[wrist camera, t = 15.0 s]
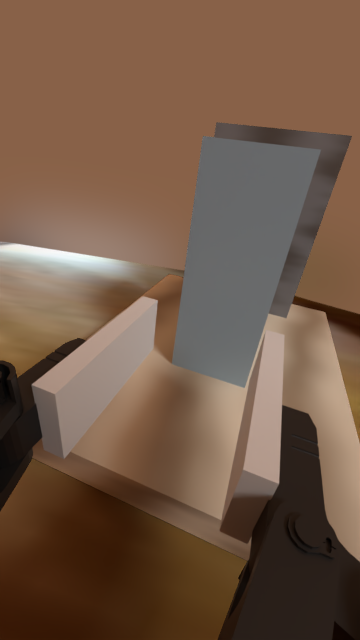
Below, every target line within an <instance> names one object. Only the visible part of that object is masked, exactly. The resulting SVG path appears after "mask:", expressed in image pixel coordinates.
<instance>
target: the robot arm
mask: <svg viewBox="0 0 360 640" xmlns="http://www.w3.org/2000/svg"><path fill="white" fill-rule="evenodd" d="M157 303H158V300H155V299H151V298H148V297H144V296H142V297H141V298H140V299H139V300H137V301H136V302H135V303H134V304H132V305H131V306H130V307H129V308H127V309H126V310H125V311H124V312H122V313H121V314H120V315H119V316H117V317H116V318H115V319H114V320H112V321H111V322H110V323H108V324H107V325H106V326H105V327H103V328H102V329H101V330H100V331H98V332H97V333H96V334H95V335H93V336H92V337H91V338H90V339H88V340H84V339H81V338H77V339H75V340H72V341H69V342H67V343H65V344H63V345H62V346H61V347H59V348H58V349H56V350H55V352H52V353H51V354H50V355H48V356H47V357H46V359H43V360H41V361H40V362H39V363H37V364H36V365H34V366H33V367H32V368H30V369H29V370H28V371H26V372H25V373H24V374H22V375H21V376H19V377H18V378H17V375H16V370H15V367H14V366H13V365H12V364H11V363H9V362H6V361H0V511H1V509H2V508H3V506H4V504H5V503H6V501H7V499H8V498H9V496H10V495H11V493H12V491H13V490H14V488H15V486H16V485H17V483H18V481H19V480H20V478H21V476H22V475H23V473H24V472H25V470H26V468H27V467H28V465H29V463H30V462H31V459H32V456H33V446H34V445H35V444H36V443H37V442H38V441H39V440H40V439H41V438H42V443H43V448H44V450H45V451H47V452H50V453H52V454H54V455H56V456H58V457H60V458H62V459H65V457H66V456H67V455H68V454H69V452H70V451H71V450H72V449H73V447H74V446H75V445H76V444H77V443H78V441H79V440H80V439H81V438H82V436H83V435H84V434H85V433H86V431H87V430H88V429H89V428H90V426H91V425H92V424H93V423H94V421H95V420H96V419H97V418H98V417H99V415H100V414H101V413H102V412H103V410H104V409H105V408H106V407H107V405H108V404H109V403H110V402H111V400H112V399H113V398H114V397H115V395H116V394H117V393H118V392H119V391H120V389H121V388H122V387H123V386H124V384H125V383H126V382H127V381H128V379H129V378H130V377H131V376H132V374H133V373H134V372H135V371H136V369H137V368H138V367H139V366H140V364H141V363H142V362H143V361H144V360H145V358H146V357H147V356H148V355H149V353H150V352H151V351H152V350H153V347H154V336H155V325H156V314H157ZM284 337H285V335H283V334H279V333H276V332H272V331H268V330H266V331H265V334H264V337H263V340H262V343H261V346H260V349H259V353H258V356H257V359H256V362H255V365H254V368H253V371H252V374H251V377H250V381H249V386H248V390H247V395H246V400H245V405H244V410H243V415H242V420H241V425H240V430H239V435H238V440H237V445H236V450H235V455H234V460H233V465H232V470H231V474H230V479H229V484H228V489H227V494H226V499H225V504H224V509H223V514H222V519H221V524H220V529H219V531H220V532H222V533H224V534H226V535H228V536H231V537H233V538H235V539H237V540H239V541H241V542H244V543H246V544H248V542H249V540H250V539H251V537H252V539H251V548H250V557H249V560H248V561H247V563H246V565H245V567H244V568H243V570H242V572H241V574H240V576H239V577H238V579H239V580H240V581H239V583H238V586H237V589H236V592H235V594H234V597H233V600H232V602H231V605H230V608H229V611H228V613H227V616H226V619H225V621H224V624H223V627H222V629H221V632H220V635H219V638H218V640H360V561H358V560H357V559H356V558H355V557H354V556H353V555H352V554H350V553H349V552H348V551H347V550H346V548H345V547H344V546H343V545H342V544H341V542H340V541H339V540H338V538H337V536H336V533H335V531H334V529H333V528H332V526H331V525H330V524H329V522H328V519H327V516H326V511H325V504H324V494H323V485H322V475H321V466H320V459H319V447H318V437H317V428H316V426H315V425H314V423H313V421H312V419H311V417H310V416H309V414H308V413H305V412H302V411H299V410H296V409H293V408H290V407H287V406H284V405H282V391H283V364H284Z"/></svg>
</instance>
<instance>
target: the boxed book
mask: <svg viewBox="0 0 360 640" xmlns="http://www.w3.org/2000/svg"><path fill="white" fill-rule="evenodd" d="M320 151H321V150H320V149H311V148H302V147H293V146H285V145H276V144H267V143H258V142H250V141H241V140H232V139H223V138H215V137H206V136H203V140H202V147H201V155H200V162H199V169H198V176H197V184H196V191H195V198H194V206H193V214H192V220H191V227H190V235H189V242H188V249H187V257H186V264H185V271H184V278H183V286H182V293H181V300H180V308H179V315H178V322H177V329H176V337H175V344H174V351H173V359H172V364H173V365H176V366H179V367H182V368H185V369H188V370H191V371H194V372H197V373H200V374H203V375H206V376H209V377H212V378H215V379H218V380H221V381H224V382H227V383H230V384H233V385H236V386H240V387H243V388H245V386H246V382H247V379H248V376H249V373H250V370H251V367H252V364H253V361H254V357H255V354H256V351H257V348H258V345H259V342H260V339H261V336H262V333H263V329H264V326H265V323H266V320H267V317H268V314H269V311H270V308H271V304H272V301H273V298H274V295H275V292H276V289H277V286H278V283H279V279H280V276H281V273H282V270H283V267H284V264H285V261H286V258H287V254H288V251H289V248H290V245H291V242H292V239H293V236H294V233H295V230H296V226H297V223H298V220H299V217H300V214H301V211H302V208H303V205H304V201H305V198H306V195H307V192H308V189H309V186H310V183H311V180H312V176H313V173H314V170H315V167H316V164H317V161H318V158H319V155H320Z"/></svg>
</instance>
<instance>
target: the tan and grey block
mask: <svg viewBox="0 0 360 640" xmlns="http://www.w3.org/2000/svg"><path fill="white" fill-rule="evenodd" d="M214 137H215V138H223V139H232V140H241V141H250V142H258V143H267V144H276V145H285V146H293V147H302V148H311V149H320V150H321V151H320V155H319V158H318V161H317V164H316V167H315V170H314V173H313V176H312V180H311V183H310V186H309V189H308V192H307V195H306V198H305V201H304V205H303V208H302V211H301V214H300V217H299V220H298V223H297V226H296V230H295V233H294V236H293V239H292V242H291V245H290V248H289V251H288V254H287V258H286V261H285V264H284V267H283V270H282V273H281V276H280V279H279V283H278V286H277V289H276V292H275V295H274V298H273V301H272V304H271V308H270V311H269V314H268V317H267V320H266V323H265V326H264V329H263V333H262V336H261V339H260V342H259V345H258V348H257V351H256V354H255V357H254V361H253V364H252V367H251V370H250V373H249V376H248V379H247V382H246V386H245V388H243V387H240V386H236V385H233V384H230V383H227V382H224V381H221V380H218V379H215V378H212V377H209V376H206V375H203V374H200V373H197V372H194V371H191V370H188V369H185V368H182V367H179V366H176V365H173V364H172V359H173V351H174V344H175V337H176V329H177V322H178V315H179V308H180V300H181V293H182V286H183V278H184V277H180V276H176V275H172V274H169V275H167V276H166V277H165V278H163V279H162V280H161V281H160V282H158V283H157V284H156V285H155V286H153V287H152V288H151V289H149V290H148V291H147V292H146V293H144V294H143V295H142V296H144V297H148V298H151V299H155V300H158V303H157V314H156V325H155V336H154V347H153V350H152V351H151V352H150V353H149V355H148V356H147V357H146V358H145V360H144V361H143V362H142V363H141V364H140V366H139V367H138V368H137V369H136V371H135V372H134V373H133V374H132V376H131V377H130V378H129V379H128V381H127V382H126V383H125V384H124V386H123V387H122V388H121V389H120V391H119V392H118V393H117V394H116V395H115V397H114V398H113V399H112V400H111V402H110V403H109V404H108V405H107V407H106V408H105V409H104V410H103V412H102V413H101V414H100V415H99V417H98V418H97V419H96V420H95V421H94V423H93V424H92V425H91V426H90V428H89V429H88V430H87V431H86V433H85V434H84V435H83V436H82V438H81V439H80V440H79V441H78V443H77V444H76V445H75V446H74V447H73V449H72V450H71V451H70V452H69V454H68V455H67V456H66V457H65V459H62V458H60V457H58V456H56V455H54V454H52V453H50V452H47V451H45V450H44V448H43V443H42V438H41V439H40V440H39V441H38V442H37V443H36V444H35V445H34V446H33V456H32V458H34V459H36V460H38V461H40V462H42V463H44V464H46V465H48V466H50V467H52V468H54V469H57V470H59V471H61V472H63V473H65V474H67V475H69V476H71V477H73V478H75V479H77V480H80V481H82V482H84V483H86V484H88V485H90V486H92V487H94V488H96V489H98V490H100V491H103V492H105V493H107V494H109V495H111V496H113V497H115V498H117V499H119V500H121V501H123V502H126V503H128V504H130V505H132V506H134V507H136V508H138V509H140V510H142V511H144V512H146V513H149V514H151V515H153V516H155V517H157V518H159V519H161V520H163V521H165V522H167V523H169V524H172V525H174V526H176V527H178V528H180V529H182V530H184V531H186V532H188V533H190V534H192V535H195V536H197V537H199V538H201V539H203V540H205V541H207V542H209V543H211V544H213V545H215V546H218V547H220V548H222V549H224V550H226V551H228V552H230V553H232V554H234V555H236V556H238V557H241V558H243V559H245V560H247V561H248V560H249V557H250V548H251V539H252V537H251V539H250V540H249V542H248V544H246V543H244V542H241V541H239V540H237V539H235V538H233V537H231V536H228V535H226V534H224V533H222V532H220V531H219V529H220V524H221V519H222V514H223V509H224V504H225V499H226V494H227V489H228V484H229V479H230V474H231V470H232V465H233V460H234V455H235V450H236V445H237V440H238V435H239V430H240V425H241V420H242V415H243V410H244V405H245V400H246V395H247V390H248V386H249V381H250V377H251V374H252V371H253V368H254V365H255V362H256V359H257V356H258V353H259V349H260V346H261V343H262V340H263V337H264V334H265V331H266V330H268V331H272V332H276V333H279V334H283V335H285V337H284V364H283V391H282V405H284V406H287V407H290V408H293V409H296V410H299V411H302V412H305V413H308V414H309V416H310V417H311V419H312V421H313V423H314V425H315V426H316V428H317V437H318V447H319V459H320V466H321V475H322V485H323V494H324V504H325V511H326V516H327V519H328V522H329V524H330V525H331V526H332V528H333V529H334V531H335V533H336V536H337V538H338V540H339V541H340V542H341V544H342V545H343V546H344V547H345V548H346V550H347V551H348V552H349V553H350V554H352V555H353V556H354V557H355V558H356V559H357V560H358V561H360V443H359V439H358V435H357V432H356V428H355V424H354V420H353V416H352V413H351V409H350V405H349V401H348V397H347V393H346V390H345V386H344V382H343V378H342V374H341V371H340V367H339V363H338V359H337V355H336V351H335V348H334V344H333V340H332V336H331V332H330V328H329V325H328V321H327V317H326V313H325V312H322V311H318V310H314V309H310V308H306V307H302V306H298V305H293V304H292V301H293V298H294V296H295V293H296V290H297V287H298V285H299V282H300V279H301V276H302V273H303V270H304V268H305V265H306V262H307V259H308V257H309V254H310V251H311V249H312V246H313V243H314V240H315V237H316V235H317V232H318V229H319V226H320V224H321V221H322V218H323V215H324V212H325V209H326V207H327V204H328V201H329V198H330V196H331V193H332V190H333V187H334V185H335V182H336V179H337V176H338V173H339V171H340V168H341V165H342V162H343V160H344V157H345V154H346V151H347V149H348V146H349V143H350V140H351V137H352V136H347V135H336V134H327V133H317V132H306V131H296V130H287V129H277V128H267V127H257V126H247V125H237V124H228V123H216V129H215V136H214ZM142 296H141V297H142ZM141 297H139V298H138V299H137V300H139V299H140V298H141ZM137 300H135V301H134V302H133V303H132V304H134V303H135V302H136V301H137ZM132 304H130V305H129V306H128V307H127V308H129V307H130V306H131V305H132ZM127 308H125V309H124V310H123V311H121V312H120V313H119V314H118V315H116V316H115V317H114V318H113V319H111V320H110V321H109V322H107V323H106V324H105V325H104V326H102V327H101V328H100V329H99V330H97V331H96V332H95V333H93V334H92V335H91V336H90V337H88V338H87V339H86V340H88V339H90V338H91V337H92V336H93V335H95V334H96V333H97V332H98V331H100V330H101V329H102V328H103V327H105V326H106V325H107V324H108V323H110V322H111V321H112V320H114V319H115V318H116V317H117V316H119V315H120V314H121V313H122V312H124V311H125V310H126V309H127Z"/></svg>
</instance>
